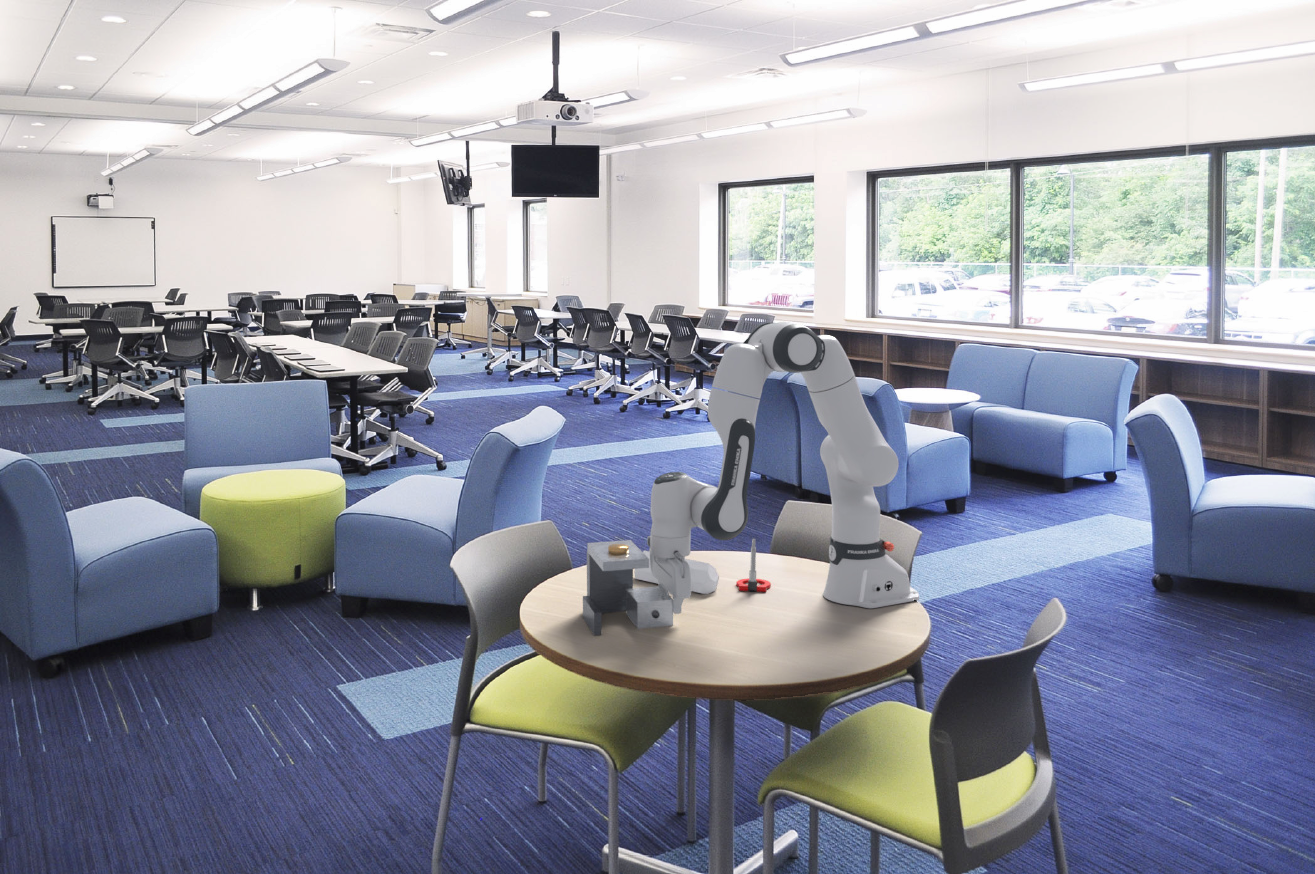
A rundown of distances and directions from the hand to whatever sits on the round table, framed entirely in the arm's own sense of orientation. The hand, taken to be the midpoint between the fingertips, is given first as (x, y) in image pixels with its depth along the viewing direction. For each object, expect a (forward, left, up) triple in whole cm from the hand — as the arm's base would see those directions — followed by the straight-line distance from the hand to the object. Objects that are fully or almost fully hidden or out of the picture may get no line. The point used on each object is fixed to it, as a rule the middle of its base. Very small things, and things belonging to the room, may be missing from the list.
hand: (670, 606), depth 236 cm
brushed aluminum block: (+5, 0, -3) cm, 6 cm away
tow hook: (-26, -17, -3) cm, 31 cm away
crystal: (-8, -24, -3) cm, 26 cm away
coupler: (+13, -2, -3) cm, 13 cm away
